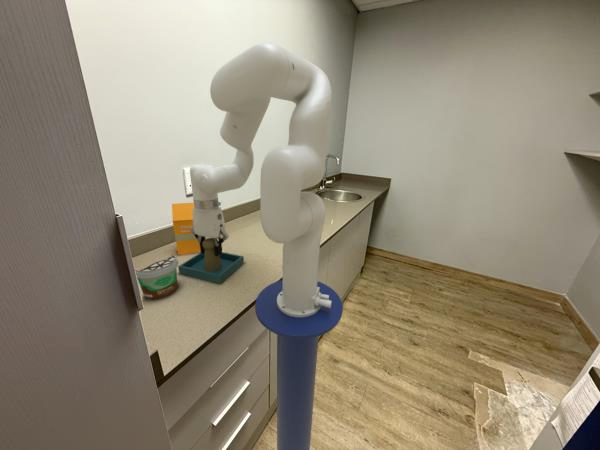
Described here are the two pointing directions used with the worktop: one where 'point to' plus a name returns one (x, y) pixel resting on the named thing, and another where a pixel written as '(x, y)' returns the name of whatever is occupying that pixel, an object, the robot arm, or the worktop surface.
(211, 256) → the olive tapered rounded piece
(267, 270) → the worktop surface
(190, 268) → the tray
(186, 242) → the orange juice
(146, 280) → the food container
